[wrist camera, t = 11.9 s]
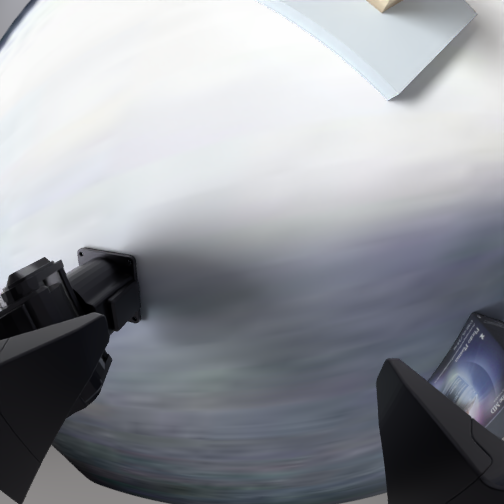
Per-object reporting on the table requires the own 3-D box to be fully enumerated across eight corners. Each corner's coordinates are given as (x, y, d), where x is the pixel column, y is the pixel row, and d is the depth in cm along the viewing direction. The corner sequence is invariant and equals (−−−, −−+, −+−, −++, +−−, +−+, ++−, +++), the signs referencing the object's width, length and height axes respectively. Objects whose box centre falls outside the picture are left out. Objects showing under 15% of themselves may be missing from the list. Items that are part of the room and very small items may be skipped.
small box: (469, 309, 20) (527, 377, 10) (502, 320, 19) (553, 377, 9) (416, 391, 23) (444, 466, 13) (453, 394, 23) (483, 457, 13)
